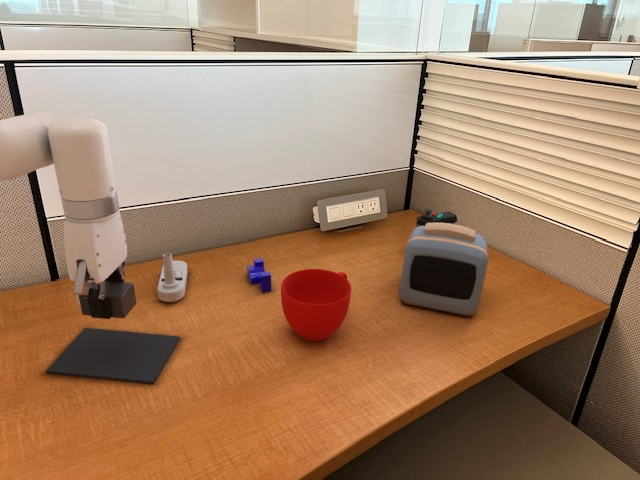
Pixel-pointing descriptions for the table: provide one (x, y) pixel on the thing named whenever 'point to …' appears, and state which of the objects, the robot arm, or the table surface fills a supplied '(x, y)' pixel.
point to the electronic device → (172, 279)
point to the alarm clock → (444, 268)
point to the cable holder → (259, 275)
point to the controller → (436, 218)
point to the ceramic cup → (315, 302)
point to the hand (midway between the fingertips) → (109, 307)
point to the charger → (113, 298)
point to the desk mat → (115, 356)
